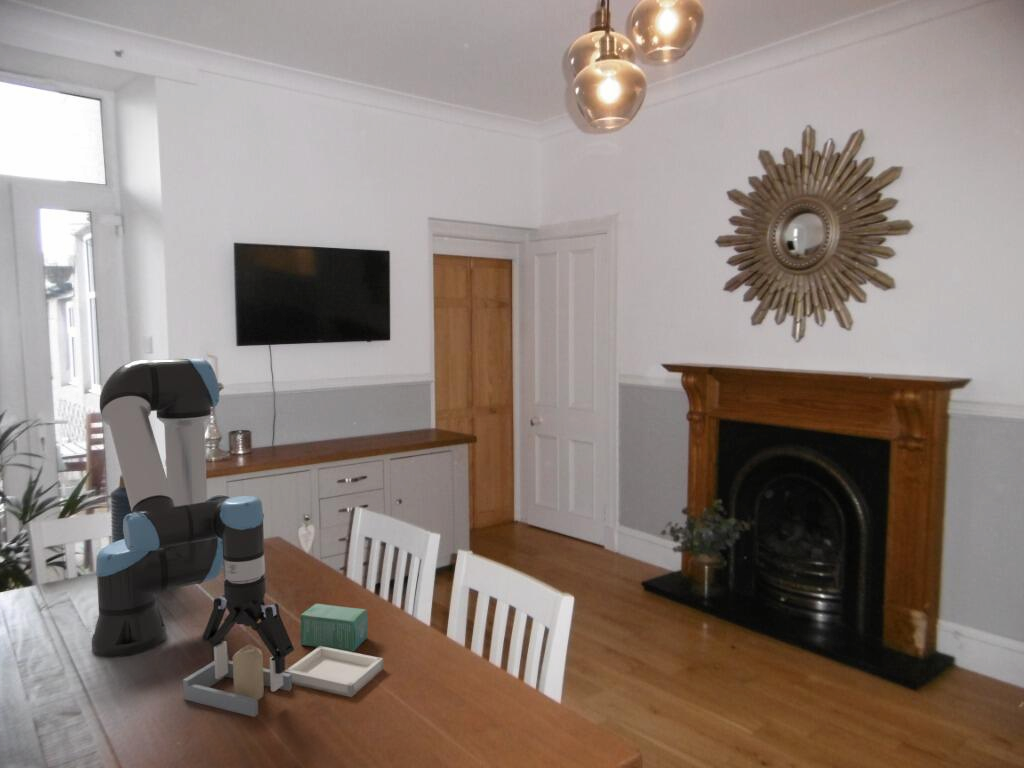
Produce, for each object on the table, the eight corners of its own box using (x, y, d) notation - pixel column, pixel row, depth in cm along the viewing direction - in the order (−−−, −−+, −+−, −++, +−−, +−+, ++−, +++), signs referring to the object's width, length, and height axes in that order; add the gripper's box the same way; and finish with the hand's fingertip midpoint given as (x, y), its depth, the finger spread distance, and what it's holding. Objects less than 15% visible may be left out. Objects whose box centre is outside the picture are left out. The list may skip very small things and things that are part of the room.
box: (355, 652, 161) (354, 620, 160) (300, 646, 164) (299, 614, 163) (369, 638, 168) (368, 607, 167) (315, 633, 171) (315, 602, 170)
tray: (284, 682, 148) (284, 671, 148) (320, 656, 159) (320, 645, 159) (351, 697, 142) (351, 685, 142) (383, 669, 153) (383, 658, 153)
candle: (238, 689, 145) (237, 642, 144) (267, 688, 145) (265, 641, 144) (230, 704, 139) (228, 655, 138) (259, 703, 140) (258, 654, 139)
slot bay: (183, 699, 141) (182, 679, 141) (224, 673, 152) (223, 654, 151) (254, 717, 135) (253, 696, 135) (292, 688, 145) (291, 669, 145)
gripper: (180, 575, 141) (185, 679, 143) (284, 592, 132) (288, 703, 134) (208, 563, 148) (213, 662, 150) (310, 578, 139) (313, 683, 141)
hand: (248, 681), depth 142 cm, fingers open, 13 cm apart
